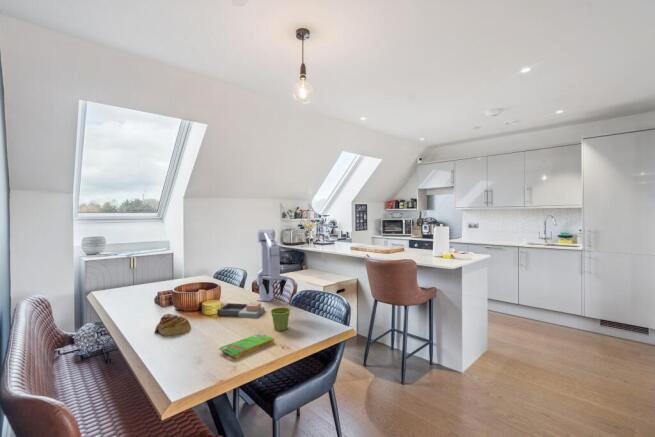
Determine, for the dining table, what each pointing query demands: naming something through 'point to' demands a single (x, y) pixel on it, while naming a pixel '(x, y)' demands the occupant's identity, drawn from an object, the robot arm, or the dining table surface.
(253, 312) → the slate plate
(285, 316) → the plant pot
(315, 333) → the dining table surface
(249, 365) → the dining table surface
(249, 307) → the block
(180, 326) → the pastry
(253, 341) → the game box
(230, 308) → the box
